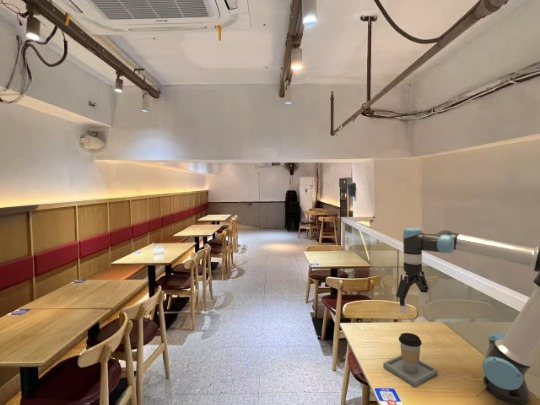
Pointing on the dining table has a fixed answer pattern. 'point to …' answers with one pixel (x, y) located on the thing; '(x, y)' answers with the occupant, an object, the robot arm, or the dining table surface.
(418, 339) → the coffee cup
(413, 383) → the tray
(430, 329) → the dining table surface
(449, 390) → the dining table surface
